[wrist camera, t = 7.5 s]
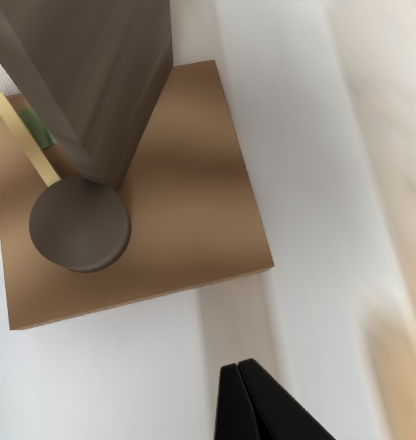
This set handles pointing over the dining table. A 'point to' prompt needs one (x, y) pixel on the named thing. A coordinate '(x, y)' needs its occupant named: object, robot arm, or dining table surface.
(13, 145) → the dial plate
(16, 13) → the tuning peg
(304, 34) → the dining table surface
